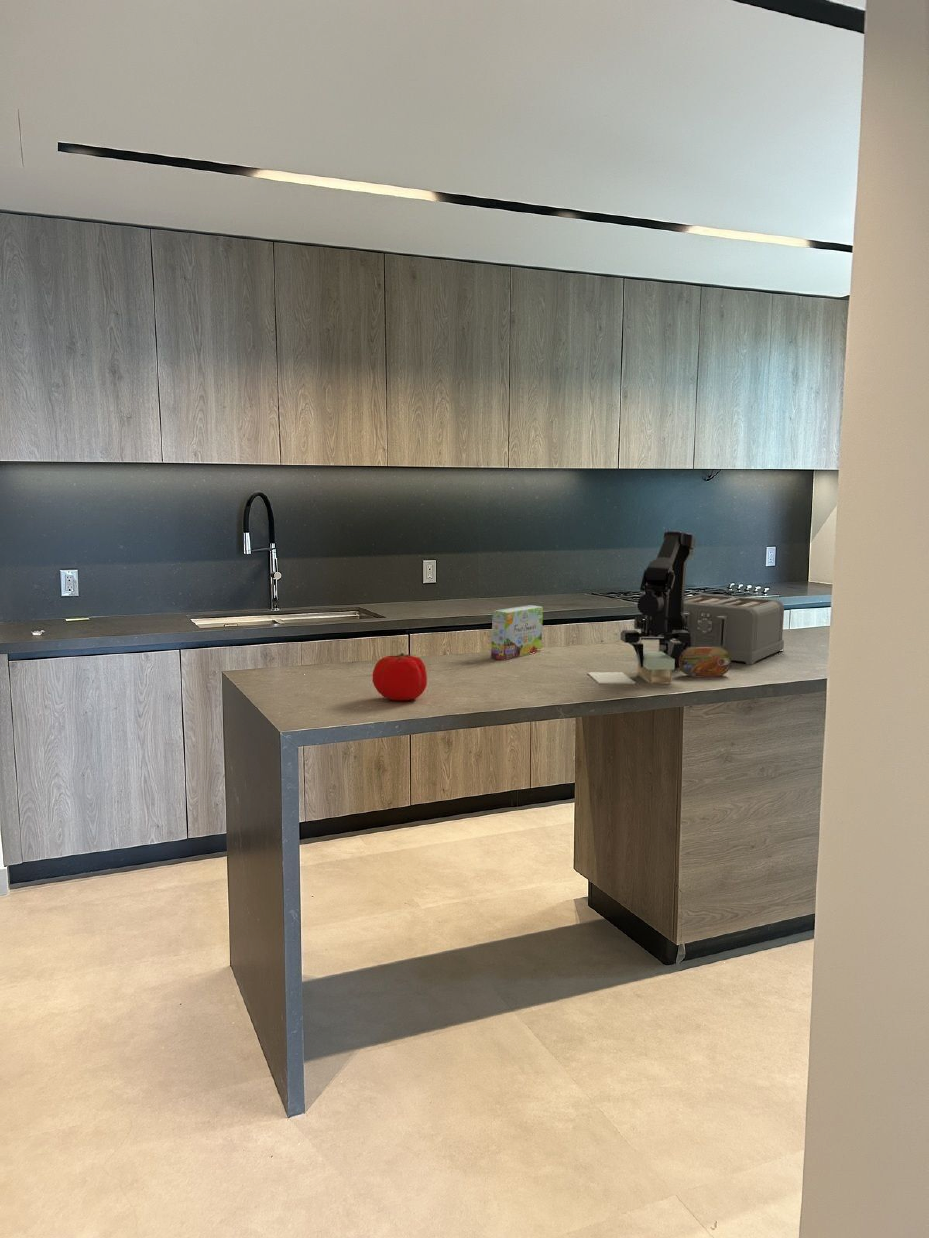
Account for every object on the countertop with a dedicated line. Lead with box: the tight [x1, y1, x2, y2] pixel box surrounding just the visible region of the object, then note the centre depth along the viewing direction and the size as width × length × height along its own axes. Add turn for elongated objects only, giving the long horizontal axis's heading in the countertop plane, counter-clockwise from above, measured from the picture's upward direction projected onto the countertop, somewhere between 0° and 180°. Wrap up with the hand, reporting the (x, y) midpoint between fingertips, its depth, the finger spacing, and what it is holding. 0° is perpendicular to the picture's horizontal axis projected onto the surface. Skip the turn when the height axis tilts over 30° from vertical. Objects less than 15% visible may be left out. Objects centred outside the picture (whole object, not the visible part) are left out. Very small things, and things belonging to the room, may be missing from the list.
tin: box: [678, 647, 732, 678], centre depth 263 cm, size 15×3×8 cm, turn 99°
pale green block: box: [635, 650, 675, 671], centre depth 256 cm, size 7×12×4 cm, turn 5°
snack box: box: [490, 604, 544, 661], centre depth 291 cm, size 21×6×15 cm, turn 143°
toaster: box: [658, 593, 785, 665], centre depth 300 cm, size 31×36×17 cm
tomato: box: [371, 652, 428, 702], centre depth 227 cm, size 12×13×12 cm
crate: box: [637, 662, 673, 685], centre depth 257 cm, size 6×12×4 cm, turn 5°
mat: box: [587, 671, 636, 685], centre depth 257 cm, size 10×14×1 cm
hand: (654, 667), depth 257 cm, fingers closed on pale green block, 7 cm apart
